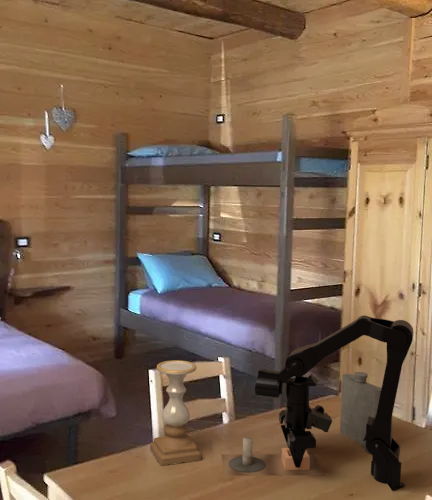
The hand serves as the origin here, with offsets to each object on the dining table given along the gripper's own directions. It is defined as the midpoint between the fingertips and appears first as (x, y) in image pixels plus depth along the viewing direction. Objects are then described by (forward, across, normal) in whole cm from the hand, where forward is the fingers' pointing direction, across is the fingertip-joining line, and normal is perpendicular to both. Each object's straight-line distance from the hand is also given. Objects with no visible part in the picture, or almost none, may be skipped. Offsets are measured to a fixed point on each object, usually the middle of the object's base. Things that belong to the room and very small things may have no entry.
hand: (295, 461), depth 165 cm
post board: (+2, 0, +6) cm, 6 cm away
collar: (+1, 0, 0) cm, 1 cm away
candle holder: (+2, +9, +30) cm, 31 cm away
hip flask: (+2, +16, -20) cm, 26 cm away
